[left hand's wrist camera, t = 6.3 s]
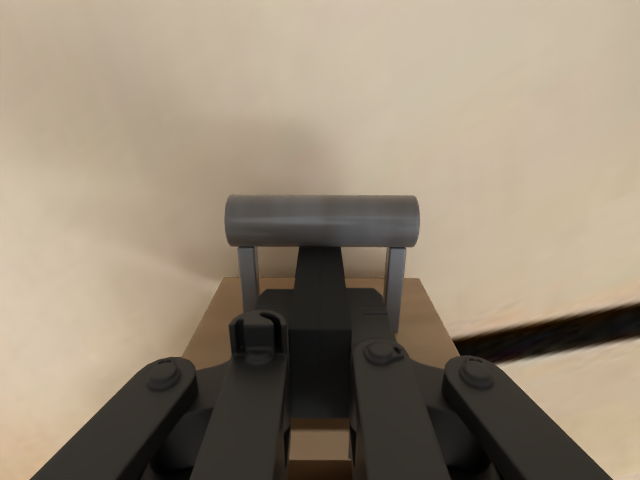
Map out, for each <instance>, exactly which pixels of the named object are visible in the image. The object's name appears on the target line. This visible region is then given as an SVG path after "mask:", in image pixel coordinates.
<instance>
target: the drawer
mask: <svg viewBox="0 0 640 480" xmlns="http://www.w3.org/2000/svg"><path fill="white" fill-rule="evenodd" d="M419 227H420V212H419V205H418V201H417V199H416V197H415V196H413V195H230V196H229V197H228V199H227V202H226V207H225V233H226V238H227V241H228V243H229V245H230V246H239V247H238V260H239V271H240V278H223V280H222V282H221V284H220V286H219V288H218V290H217V291H216V293H215V295H214V297H213V299H212V301H211V303H210V305H209V307H208V308H207V310H206V312H205V314H204V316H203V318H202V320H201V322H200V324H199V326H198V327H197V329H196V331H195V333H194V335H193V337H192V339H191V341H190V343H189V344H188V346H187V348H186V350H185V352H184V354H183V356H182V358H185V359H187V360H190V361H191V362H192V363H193V364H194V365H195V369H196V370H200V369H204V368H209V367H213V366H216V365H220V364H222V363H224V362H226V361H228V360H230V358H231V355H232V353H231V344H230V335H229V326H228V325H229V324H230V322H231V321H232V320H233V319H234V318H235V317H237V316H238V315H240V314H242V313H245V312H248V311H251V310H254V308H255V304H256V300H257V297H258V296H259V295H260V294H261V293H262V292H264V291H265V290H266V289H294V282H295V278H259V270H258V255H257V247H387V252H386V265H385V278H345V283H346V288H374V289H375V290H377V291H378V292H379V293H380V294H381V295H382V296H383V299H384V303H385V307H386V309H387V312H388V315H389V319H390V322H391V325H392V328H393V331H394V335H395V338H396V341H397V343H399V344H400V345H401V346H403V347H404V348H405V350H406V351H407V353H408V355H409V358H411V359H412V360H415V361H417V362H419V363H422V364H425V365H429V366H433V367H438V368H442V369H444V368H445V364H446V363H447V362H448V361H449V360H450V359H451V358H454V357H457V356H460V355H459V353H458V351H457V349H456V347H455V345H454V344H453V342H452V340H451V338H450V336H449V334H448V332H447V330H446V328H445V327H444V325H443V323H442V321H441V319H440V317H439V315H438V313H437V311H436V310H435V308H434V306H433V304H432V302H431V300H430V298H429V296H428V294H427V293H426V291H425V289H424V287H423V285H422V283H421V281H420V279H418V278H404V269H405V259H406V248H405V247H414V246H415V244H416V242H417V239H418V235H419ZM290 425H291V442H290V455H289V467H288V479H287V480H353V478H352V466H351V459H348V450H349V425H350V419H349V418H291V420H290Z"/></svg>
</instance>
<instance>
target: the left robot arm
mask: <svg viewBox="0 0 640 480" xmlns="http://www.w3.org/2000/svg"><path fill="white" fill-rule="evenodd" d="M228 326H229V335H230V344H231V353H232V355H231V358H230V360H228V361H226V362H224V363H222V364H220V365H216V366H213V367H209V368H204V369H200V370H196V369H195V365H194V364H193V363H192V362H191V361H190V360H187V359H185V358H182V357H169V358H164V359H159V360H157V361H155V362H152V363H150V364H148V365H146V366H145V367H144V368H142V369H141V370H140V371H139V372H137V373H136V374H135V375H134V376H133V377H132V378H131V379H130V380H129V381H128V382H127V383H126V384H125V385H124V386H123V387H122V388H121V389H120V390H119V391H118V392H117V393H116V394H115V395H114V396H113V397H112V398H111V399H110V400H109V401H108V402H107V403H106V404H105V405H104V406H103V407H102V408H101V409H100V410H99V411H98V412H97V413H96V414H95V415H94V416H93V417H92V418H91V419H90V420H89V421H88V422H87V423H86V424H85V425H84V426H83V427H82V428H81V429H80V430H79V431H78V432H77V433H76V434H75V435H74V436H73V437H72V438H71V439H70V440H69V441H68V442H67V443H66V444H65V445H64V446H63V447H62V448H61V449H60V450H59V451H58V452H57V453H56V454H55V455H54V456H53V457H52V458H51V459H50V460H49V461H48V462H47V463H46V464H45V465H44V466H43V467H42V468H41V469H40V470H39V471H38V472H37V473H36V474H35V475H34V476H33V477H32V478H31V479H30V480H287V479H288V467H289V455H290V442H291V425H290V420H291V418H349V419H350V425H349V450H348V459H351V466H352V478H353V480H613V479H612V478H611V477H610V476H609V475H608V474H607V473H606V472H605V471H604V470H603V469H602V468H601V467H600V466H599V465H598V464H597V463H596V462H595V461H594V460H593V459H592V458H591V457H590V456H588V455H587V454H586V453H585V452H584V451H583V450H582V449H581V448H580V447H579V446H578V445H577V444H576V443H575V442H574V441H573V440H572V439H571V438H570V437H569V436H568V435H567V434H566V433H565V432H564V431H563V430H562V429H561V428H560V427H559V426H558V425H557V424H556V423H555V422H554V421H553V420H552V419H551V418H550V417H549V416H548V415H547V414H546V413H545V412H544V411H543V410H542V409H541V408H540V407H539V406H538V405H537V404H536V403H535V402H534V401H533V400H532V399H531V398H530V397H529V396H528V395H527V394H526V393H525V392H524V391H523V390H522V389H521V388H520V387H519V386H518V385H517V384H516V383H515V382H514V381H513V380H512V379H511V378H510V377H509V376H508V375H507V374H506V373H504V372H503V371H502V370H501V369H500V368H499V367H497V366H496V365H495V364H493V363H491V362H489V361H487V360H485V359H482V358H479V357H474V356H457V357H454V358H451V359H450V360H449V361H448V362H447V363H446V364H445V368H444V369H442V368H438V367H433V366H429V365H425V364H422V363H419V362H417V361H415V360H412V359H411V358H409V355H408V353H407V351H406V350H405V348H404V347H403V346H401V345H400V344H399V343H397V341H396V338H395V335H394V331H393V328H392V325H391V322H390V319H389V315H388V312H387V309H386V307H385V303H384V299H383V296H382V295H381V294H380V293H379V292H378V291H377V290H375V289H374V288H346V283H345V276H344V269H343V261H342V254H341V247H299V253H298V260H297V268H296V275H295V282H294V289H266V290H265V291H264V292H262V293H261V294H260V295H259V296H258V297H257V300H256V304H255V308H254V310H251V311H248V312H245V313H242V314H240V315H238V316H237V317H235V318H234V319H233V320H232V321H231V322H230V324H229V325H228Z"/></svg>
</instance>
